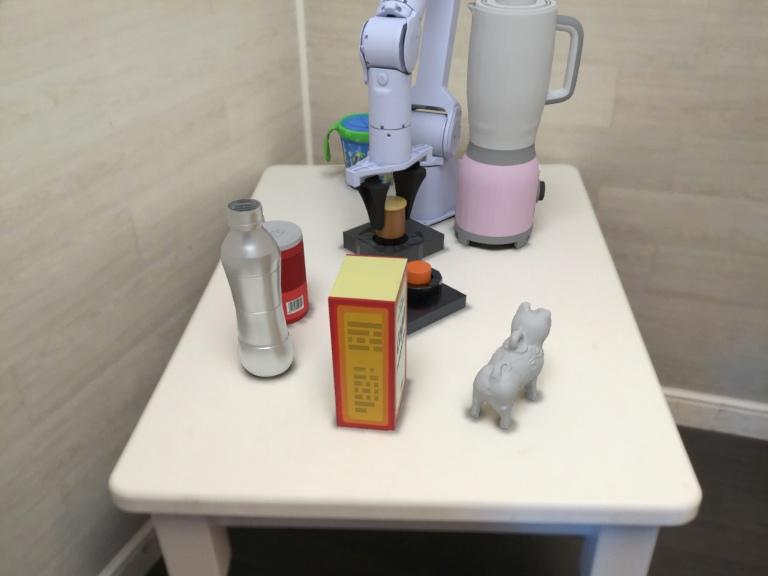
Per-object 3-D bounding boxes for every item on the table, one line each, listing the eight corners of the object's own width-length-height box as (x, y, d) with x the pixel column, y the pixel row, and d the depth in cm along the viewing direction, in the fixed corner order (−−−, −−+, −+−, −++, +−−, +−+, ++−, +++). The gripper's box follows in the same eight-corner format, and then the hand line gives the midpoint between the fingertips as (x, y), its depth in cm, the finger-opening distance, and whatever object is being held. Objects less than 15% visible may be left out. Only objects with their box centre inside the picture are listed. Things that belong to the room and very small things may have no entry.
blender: (454, 252, 110) (470, -1, 88) (451, 218, 119) (464, -20, 96) (557, 252, 110) (600, -2, 87) (547, 218, 118) (583, -21, 96)
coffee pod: (391, 222, 110) (391, 192, 107) (412, 232, 108) (413, 202, 104) (367, 231, 108) (366, 201, 105) (388, 242, 105) (388, 211, 102)
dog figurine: (552, 380, 87) (568, 298, 79) (506, 437, 79) (518, 353, 71) (512, 366, 89) (523, 286, 81) (463, 421, 81) (470, 338, 73)
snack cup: (418, 176, 132) (420, 115, 124) (403, 199, 125) (404, 136, 117) (337, 168, 135) (334, 108, 128) (318, 190, 128) (314, 128, 120)
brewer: (416, 281, 104) (416, 258, 101) (465, 307, 99) (467, 284, 96) (357, 307, 99) (356, 283, 96) (406, 336, 94) (406, 312, 91)
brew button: (418, 270, 100) (418, 258, 99) (436, 279, 98) (436, 267, 97) (398, 278, 98) (399, 266, 97) (416, 288, 96) (417, 275, 95)
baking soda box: (352, 377, 87) (346, 250, 76) (405, 381, 87) (407, 254, 75) (337, 426, 81) (327, 295, 69) (394, 431, 80) (394, 299, 69)
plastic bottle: (287, 386, 86) (265, 220, 72) (233, 380, 87) (201, 215, 73) (302, 356, 91) (284, 195, 76) (250, 351, 92) (224, 190, 77)
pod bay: (396, 226, 117) (396, 211, 115) (446, 251, 111) (447, 235, 109) (337, 249, 111) (336, 233, 110) (387, 276, 105) (387, 260, 103)
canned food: (313, 298, 101) (307, 220, 93) (303, 328, 95) (295, 248, 87) (260, 296, 101) (248, 218, 94) (246, 326, 96) (233, 246, 88)
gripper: (409, 104, 103) (408, 201, 112) (329, 128, 96) (335, 228, 106) (444, 116, 99) (439, 215, 108) (363, 141, 92) (366, 244, 102)
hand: (390, 222), depth 107 cm, fingers closed on coffee pod, 5 cm apart
